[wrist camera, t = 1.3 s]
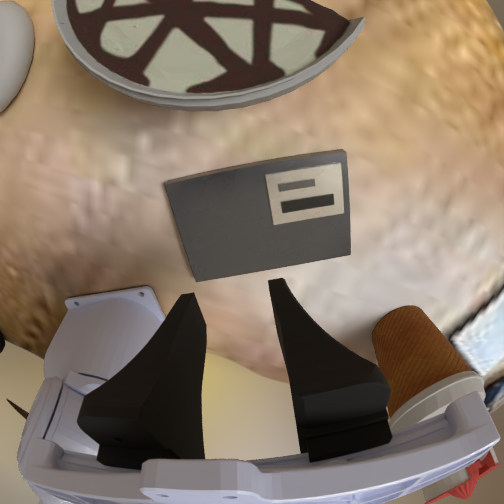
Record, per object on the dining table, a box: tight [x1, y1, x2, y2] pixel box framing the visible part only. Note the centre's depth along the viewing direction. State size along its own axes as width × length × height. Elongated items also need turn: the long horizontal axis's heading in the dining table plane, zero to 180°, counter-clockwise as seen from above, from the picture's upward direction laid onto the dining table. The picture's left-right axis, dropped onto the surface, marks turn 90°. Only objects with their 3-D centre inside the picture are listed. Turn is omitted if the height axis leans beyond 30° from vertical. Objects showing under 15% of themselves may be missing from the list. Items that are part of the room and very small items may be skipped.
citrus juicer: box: [422, 447, 500, 504], centre depth 36 cm, size 16×17×20 cm
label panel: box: [165, 149, 351, 282], centre depth 21 cm, size 12×8×1 cm, turn 100°
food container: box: [52, 0, 366, 111], centre depth 11 cm, size 12×6×10 cm, turn 65°
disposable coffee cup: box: [372, 306, 485, 432], centre depth 24 cm, size 10×10×12 cm
